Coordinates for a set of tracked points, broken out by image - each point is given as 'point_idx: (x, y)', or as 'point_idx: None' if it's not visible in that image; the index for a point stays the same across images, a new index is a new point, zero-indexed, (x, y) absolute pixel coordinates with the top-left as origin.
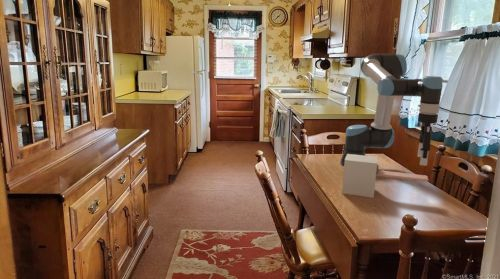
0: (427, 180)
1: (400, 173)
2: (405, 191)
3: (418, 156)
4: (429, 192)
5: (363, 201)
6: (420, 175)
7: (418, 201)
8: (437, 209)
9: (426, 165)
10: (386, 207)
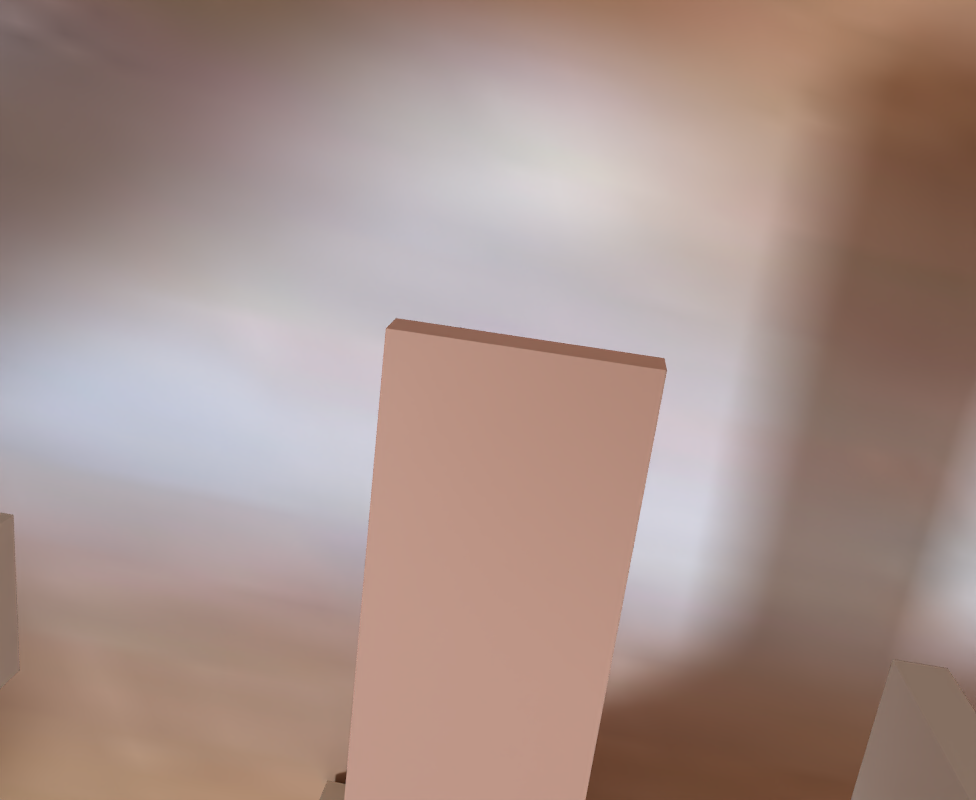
0: (663, 379)
1: (401, 764)
2: (264, 439)
3: (13, 655)
4: (186, 115)
5: None
6: (415, 453)
7: None
8: (872, 173)
9: (947, 682)
10: None
